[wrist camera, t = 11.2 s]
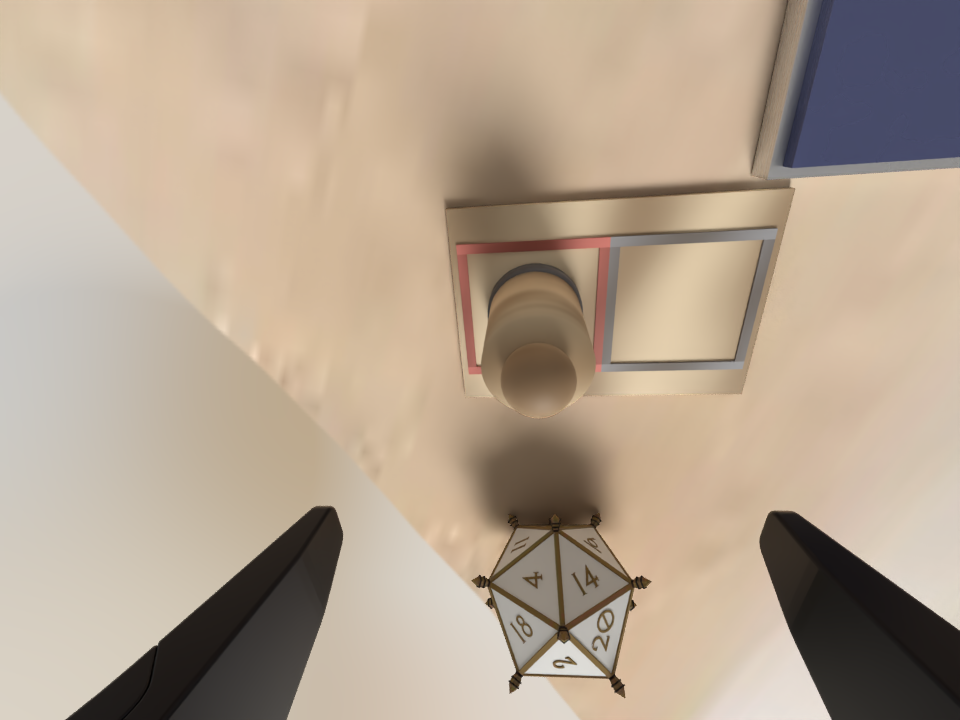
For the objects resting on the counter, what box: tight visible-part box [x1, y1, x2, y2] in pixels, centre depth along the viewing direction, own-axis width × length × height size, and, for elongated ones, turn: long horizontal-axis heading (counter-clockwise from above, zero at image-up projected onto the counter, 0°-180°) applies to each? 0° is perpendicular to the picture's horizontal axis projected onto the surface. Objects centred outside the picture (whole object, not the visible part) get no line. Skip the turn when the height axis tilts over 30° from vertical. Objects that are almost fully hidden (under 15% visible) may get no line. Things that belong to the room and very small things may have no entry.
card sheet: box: [446, 187, 795, 398], centre depth 19 cm, size 13×9×1 cm
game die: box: [471, 513, 652, 698], centre depth 23 cm, size 9×8×10 cm
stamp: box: [481, 263, 596, 418], centre depth 16 cm, size 4×4×7 cm
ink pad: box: [751, 0, 960, 180], centre depth 13 cm, size 8×7×2 cm
